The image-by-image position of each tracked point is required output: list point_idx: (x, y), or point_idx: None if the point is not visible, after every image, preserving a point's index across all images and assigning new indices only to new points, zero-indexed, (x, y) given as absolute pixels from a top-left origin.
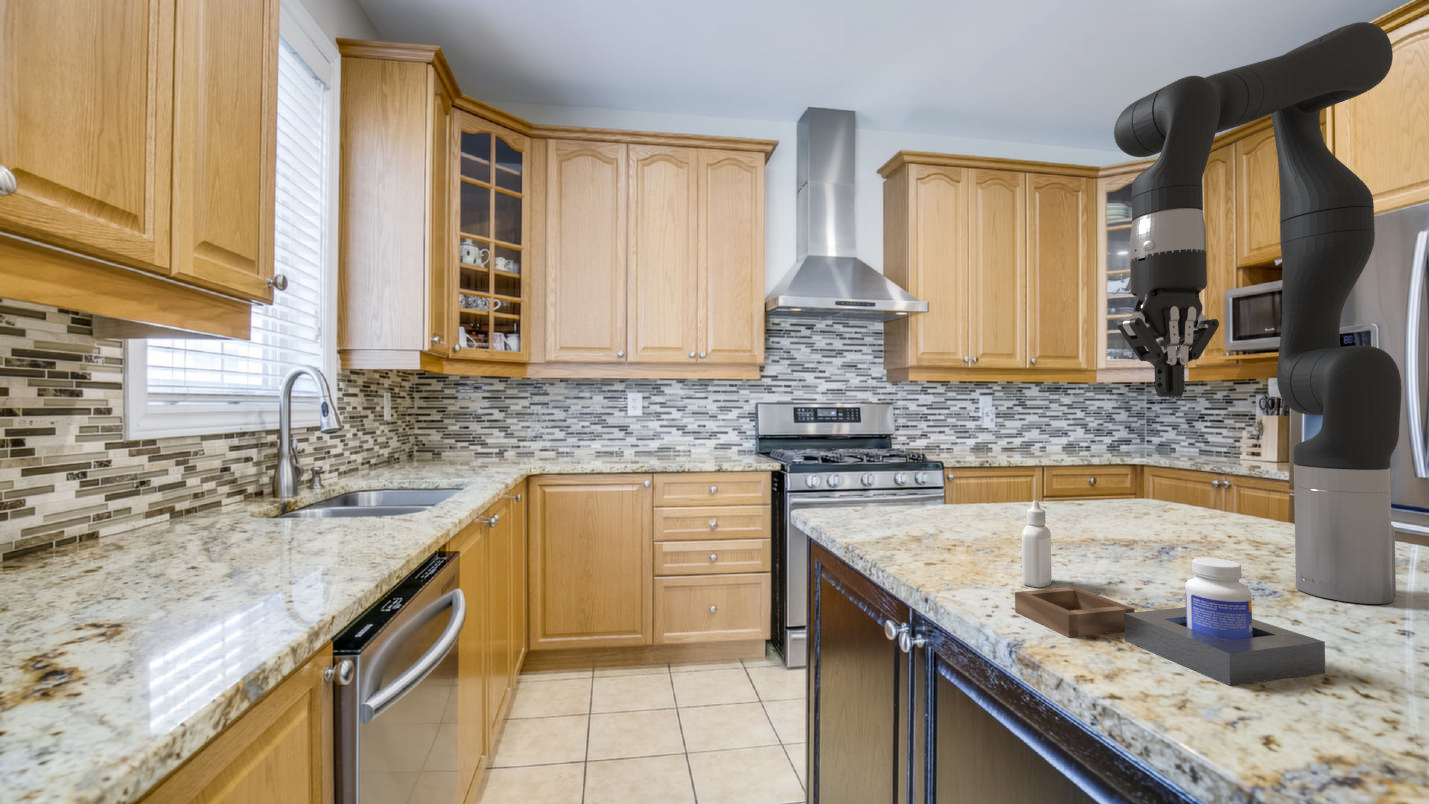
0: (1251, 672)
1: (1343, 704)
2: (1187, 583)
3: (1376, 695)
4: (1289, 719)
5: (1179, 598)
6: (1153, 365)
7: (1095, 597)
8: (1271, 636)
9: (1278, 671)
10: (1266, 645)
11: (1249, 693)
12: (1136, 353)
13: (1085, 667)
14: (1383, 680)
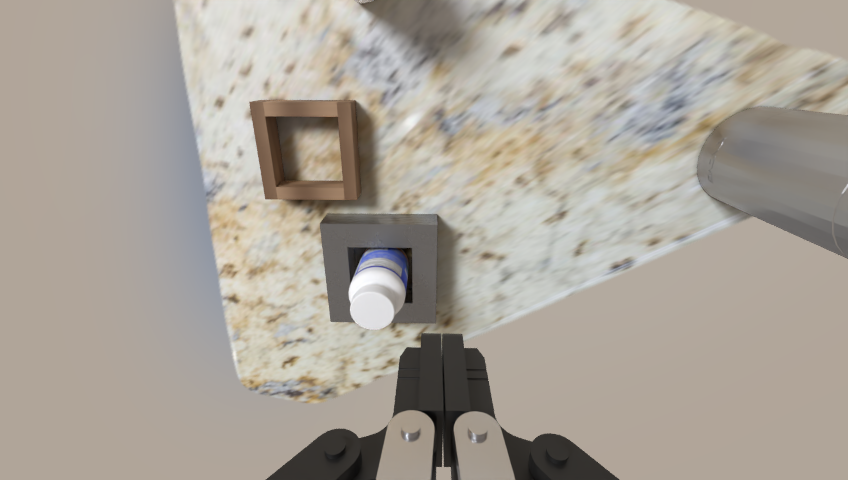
0: None
1: (388, 342)
2: (353, 282)
3: None
4: (329, 347)
5: (521, 110)
6: (400, 416)
7: (342, 152)
8: (404, 304)
9: None
10: None
11: None
12: (287, 467)
13: (245, 253)
14: (463, 326)
